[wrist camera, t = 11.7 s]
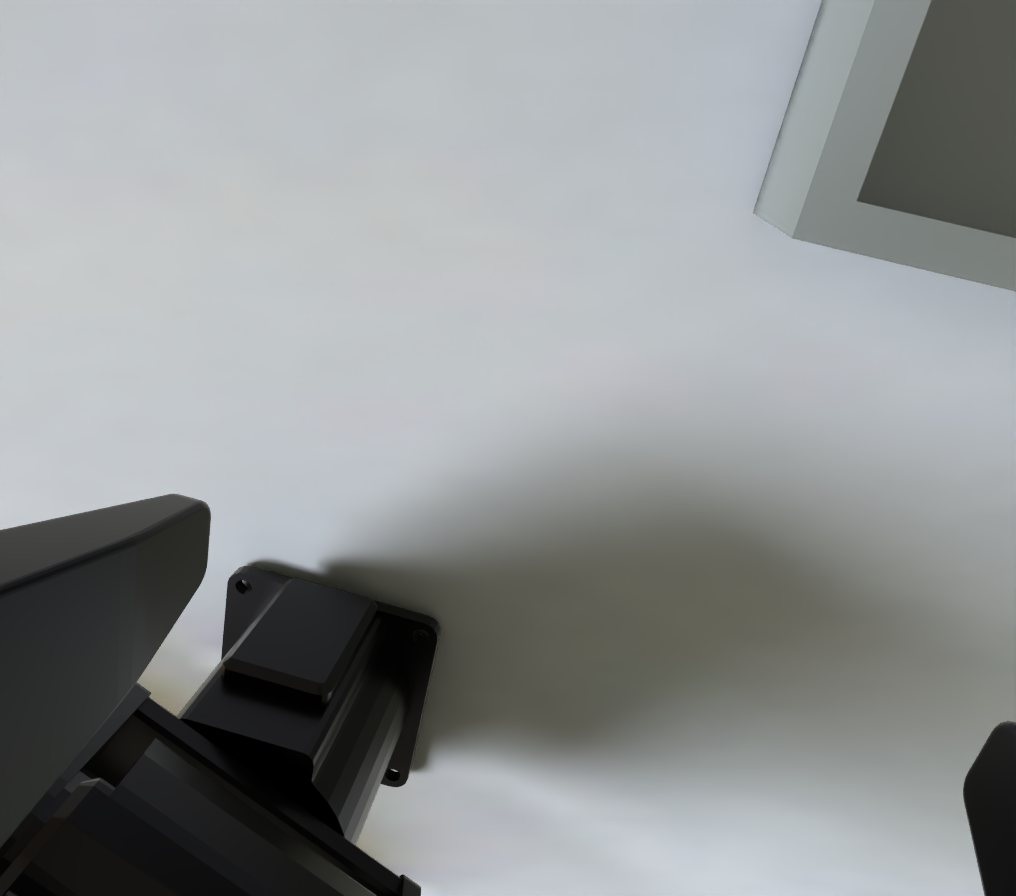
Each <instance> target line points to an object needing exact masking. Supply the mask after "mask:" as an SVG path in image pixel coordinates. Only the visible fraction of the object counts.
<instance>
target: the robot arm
mask: <svg viewBox="0 0 1016 896" xmlns="http://www.w3.org/2000/svg"><path fill="white" fill-rule="evenodd" d="M210 521H211V513H210V508H209V506H208V505H207V503H206V502H204V501H201V500H197V499H194V498H190V497H186V496H183V495H179V494H169V495H164V496H159V497H154V498H150V499H145V500H140V501H136V502H131V503H126V504H121V505H117V506H112V507H107V508H103V509H98V510H93V511H88V512H84V513H79V514H74V515H70V516H65V517H60V518H55V519H51V520H46V521H41V522H37V523H32V524H27V525H23V526H18V527H13V528H8V529H4V530H0V896H421V887H420V886H419V885H417V884H416V883H415V882H413V881H412V880H410V879H409V878H408V877H406V876H405V875H403V874H402V875H401V876H398V875H396V874H395V873H393V872H392V871H391V870H389V869H388V868H386V867H385V866H384V865H382V864H381V863H379V862H378V861H377V860H375V859H374V858H372V857H371V856H370V855H368V854H367V853H366V852H364V851H363V850H361V849H360V848H359V847H357V846H356V843H357V841H358V838H359V836H360V833H361V831H362V828H363V826H364V823H365V821H366V818H367V816H368V813H369V811H370V808H371V806H372V803H373V801H374V798H375V796H376V793H377V791H378V788H379V786H380V784H384V785H387V786H391V787H400V786H402V785H404V784H405V783H406V781H407V779H408V777H409V774H410V771H411V767H412V763H413V758H414V753H415V749H416V744H417V740H418V735H419V730H420V726H421V721H422V717H423V712H424V707H425V703H426V698H427V694H428V689H429V684H430V680H431V675H432V671H433V666H434V661H435V657H436V652H437V648H438V643H439V638H440V634H441V630H440V626H439V624H438V622H437V621H436V620H435V619H434V618H432V617H430V616H428V615H424V614H421V613H417V612H414V611H410V610H406V609H403V608H399V607H395V606H392V605H388V604H385V603H381V602H377V601H374V600H372V599H370V598H367V597H363V596H359V595H356V594H352V593H349V592H345V591H341V590H338V589H334V588H331V587H327V586H323V585H320V584H316V583H312V582H309V581H305V580H302V579H298V578H291V577H287V576H283V575H280V574H276V573H273V572H269V571H265V570H262V569H258V568H254V567H250V566H243V567H240V568H239V569H238V570H236V571H235V573H234V574H233V575H232V576H231V577H230V578H229V581H228V586H227V598H226V610H225V622H224V634H223V645H222V657H221V662H220V663H219V664H218V665H217V667H216V668H215V669H214V670H213V672H212V673H211V674H210V675H209V677H208V678H207V679H206V680H205V682H204V683H203V684H202V685H201V687H200V688H199V689H198V690H197V692H196V693H195V694H194V695H193V697H192V698H191V699H190V700H189V701H188V703H187V704H186V705H185V706H184V708H183V709H182V710H181V711H180V713H179V714H178V715H177V716H175V715H174V714H172V713H171V712H169V711H168V710H167V709H165V708H164V707H162V706H161V705H160V704H158V703H157V702H155V701H154V700H153V699H151V698H150V697H149V696H150V694H151V692H149V691H148V690H147V689H145V688H144V687H142V686H141V685H140V684H138V683H137V680H138V679H139V677H140V676H141V675H142V673H143V672H144V670H145V669H146V667H147V666H148V664H149V662H150V661H151V659H152V658H153V656H154V655H155V653H156V652H157V650H158V649H159V647H160V646H161V644H162V643H163V641H164V639H165V638H166V636H167V635H168V633H169V632H170V630H171V629H172V627H173V626H174V624H175V623H176V621H177V620H178V618H179V616H180V615H181V613H182V612H183V610H184V609H185V607H186V606H187V604H188V603H189V601H190V600H191V598H192V597H193V595H194V593H195V592H196V590H197V589H198V587H199V586H200V584H201V582H202V580H203V578H204V575H205V572H206V568H207V561H208V548H209V535H210ZM242 580H245V581H247V582H249V584H250V585H251V588H249V587H247V586H245V585H244V583H243V582H242ZM418 629H419V630H424V631H426V632H427V633H428V634H429V636H422V635H420V634H419V633H418V632H417V631H416V630H418ZM391 769H395V770H397V771H398V772H394V771H393V770H391ZM963 796H964V803H965V808H966V812H967V817H968V821H969V826H970V831H971V835H972V840H973V844H974V849H975V853H976V858H977V863H978V867H979V872H980V876H981V881H982V886H983V890H984V895H985V896H1016V722H1011V721H1007V722H1003V723H1000V724H999V725H997V726H996V727H995V728H994V730H993V731H992V733H991V734H990V736H989V738H988V740H987V741H986V743H985V745H984V746H983V748H982V750H981V751H980V753H979V755H978V756H977V758H976V760H975V762H974V763H973V765H972V767H971V768H970V770H969V772H968V774H967V776H966V779H965V782H964V788H963Z"/></svg>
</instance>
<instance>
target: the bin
mask: <svg viewBox="0 0 1016 896" xmlns="http://www.w3.org/2000/svg"><path fill="white" fill-rule="evenodd" d="M753 213H754V214H756V215H757V216H759V217H760V218H762V219H763V220H765V221H767V222H768V223H770V224H771V225H773V226H774V227H776V228H777V229H779V230H780V231H782V232H783V233H785V234H786V235H788V236H789V237H791V238H793V239H797V240H801V241H806V242H810V243H814V244H818V245H823V246H827V247H831V248H835V249H839V250H844V251H848V252H852V253H856V254H860V255H865V256H869V257H873V258H877V259H881V260H886V261H890V262H894V263H898V264H903V265H907V266H911V267H915V268H919V269H924V270H928V271H932V272H936V273H940V274H945V275H949V276H953V277H957V278H961V279H966V280H970V281H974V282H978V283H982V284H987V285H991V286H995V287H999V288H1004V289H1008V290H1012V291H1016V0H822V3H821V6H820V9H819V12H818V15H817V18H816V21H815V24H814V27H813V30H812V33H811V36H810V39H809V43H808V46H807V49H806V52H805V55H804V58H803V61H802V64H801V67H800V70H799V73H798V76H797V79H796V82H795V86H794V89H793V92H792V95H791V98H790V101H789V104H788V107H787V110H786V113H785V116H784V119H783V122H782V126H781V129H780V132H779V135H778V138H777V141H776V144H775V147H774V150H773V153H772V156H771V159H770V162H769V165H768V169H767V172H766V175H765V178H764V181H763V184H762V187H761V190H760V193H759V196H758V199H757V202H756V205H755V209H754V212H753Z"/></svg>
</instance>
